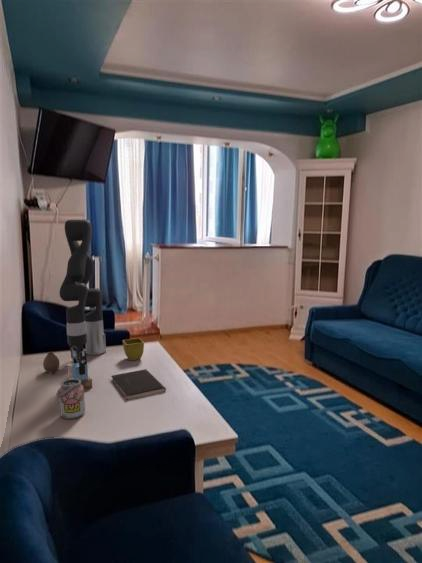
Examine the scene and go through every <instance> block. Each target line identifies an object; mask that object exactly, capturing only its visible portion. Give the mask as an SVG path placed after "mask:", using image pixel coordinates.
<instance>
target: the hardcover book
mask: <svg viewBox="0 0 422 563" xmlns="http://www.w3.org/2000/svg"><path fill="white" fill-rule="evenodd" d="M110 376H111V380H112V381H113V382H114V384H115V383H116V384H115V385H116V386H117V388H118V389H119V390H120V392H121V393H122V394H123V395H125V396H124V397H125V398H126V400H127V399H128V400H132V399H135V398H136V397H137V398H139V397H141V398H142V397H145V396H150V395H155V394H157V393H158V394H159V393H164V392H166V391H167V388H166V387H165V386H164V385H163V384H162V383H161V382H160V381H159V380H158V379H157V378H156V377H155V376H154V374H152V373H150V371H148V369H146V368H145V369H140V370H135V371H134V370H133V371H129V372H123V373H118V374H113V375H110ZM131 398H132V399H131ZM137 398H136V399H137Z"/></svg>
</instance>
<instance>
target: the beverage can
mask: <svg viewBox="0 0 422 563" xmlns="http://www.w3.org/2000/svg"><path fill="white" fill-rule="evenodd" d="M68 379H69V378H68ZM68 379H66V380H63V381H62V382H61V383H60V388H58V389H57V391H56V393H55V397H57V398H59V403H60V414H61V417H62V418H64V419H65V420H74V419H78V418H80V417H82V416H83V415H84V414H85V412H86V403H85V390H84V388H83V386H82V385H81V381H80V380H79V379H74V378H71V379H69V380H68Z"/></svg>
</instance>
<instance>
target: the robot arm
mask: <svg viewBox="0 0 422 563" xmlns="http://www.w3.org/2000/svg"><path fill="white" fill-rule="evenodd" d="M64 234H65V238H66V241H67V244H68V247H69V251H70V257H69V259H68V260H67V261H68V262H67V267H66V275H65V277H64V280H63V282H62V284H61V286H60V288H59V292H58V293H59V294H58V295H59V297H60V299H61V300H62V301H63V302H78V304H76V305H74V306H69V307H67V308H66V309H65V316H66V317H65V318H66V337H67V341H66V342H67V345H68V346H69V348H70V358H71V359H72V363H78V365H79V374H80V375H84V374H85V365H87V366H88V361H87V359H88V358H87V355H88V356H89V355H90V356H96V355H98V356H99V355H101V354H103V353H106V352H107V347H106V346H107V345H106V334H105V333H104V320H103V318H104V316H103V293H102V290H101V288H97V287H95V288H88V283H89V282H90V281H91V279H92V278H93V276H94V274H95V265H94V260H93V257H92V256H91V255H90V254H89V249H90V246H91V242H92V239H93V238H92V237H93V226H92V222H91V221H90V220H88V219H67V220H66V221H65V223H64ZM79 242H80V244H79ZM94 307H95V308H94ZM85 308H94V309H93V310H91V311H90V312H86V313H85V310H86V309H85ZM84 345H85V348H84ZM82 362H83V363H82Z"/></svg>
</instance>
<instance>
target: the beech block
mask: <svg viewBox="0 0 422 563" xmlns="http://www.w3.org/2000/svg"><path fill="white" fill-rule="evenodd" d="M72 364H74V362H72V363H68V364H67V375H68V379H69V378H72Z"/></svg>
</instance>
